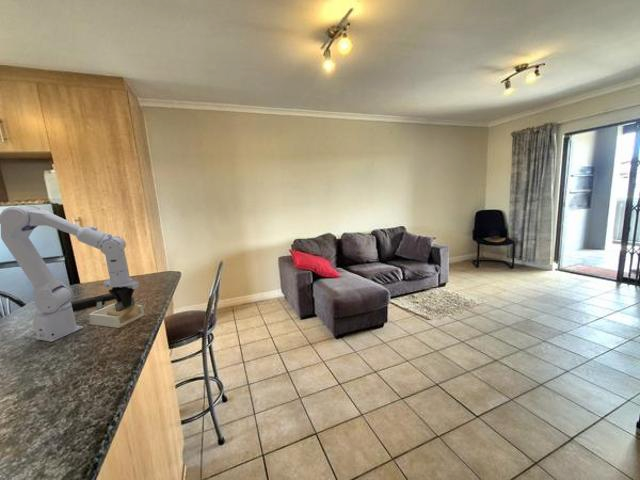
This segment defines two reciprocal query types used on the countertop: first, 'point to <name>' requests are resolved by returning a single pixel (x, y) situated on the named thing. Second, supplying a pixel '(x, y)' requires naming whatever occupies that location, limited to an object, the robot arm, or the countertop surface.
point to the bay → (111, 317)
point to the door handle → (91, 302)
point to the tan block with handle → (124, 311)
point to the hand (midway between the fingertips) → (125, 305)
